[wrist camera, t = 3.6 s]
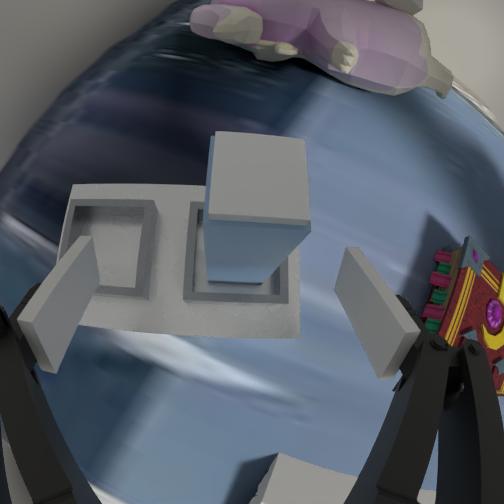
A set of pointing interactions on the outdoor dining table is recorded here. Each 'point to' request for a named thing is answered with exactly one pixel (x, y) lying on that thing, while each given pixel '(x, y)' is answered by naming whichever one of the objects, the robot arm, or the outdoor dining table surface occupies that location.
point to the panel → (170, 267)
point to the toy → (333, 39)
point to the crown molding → (310, 484)
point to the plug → (253, 205)
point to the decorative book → (469, 303)
